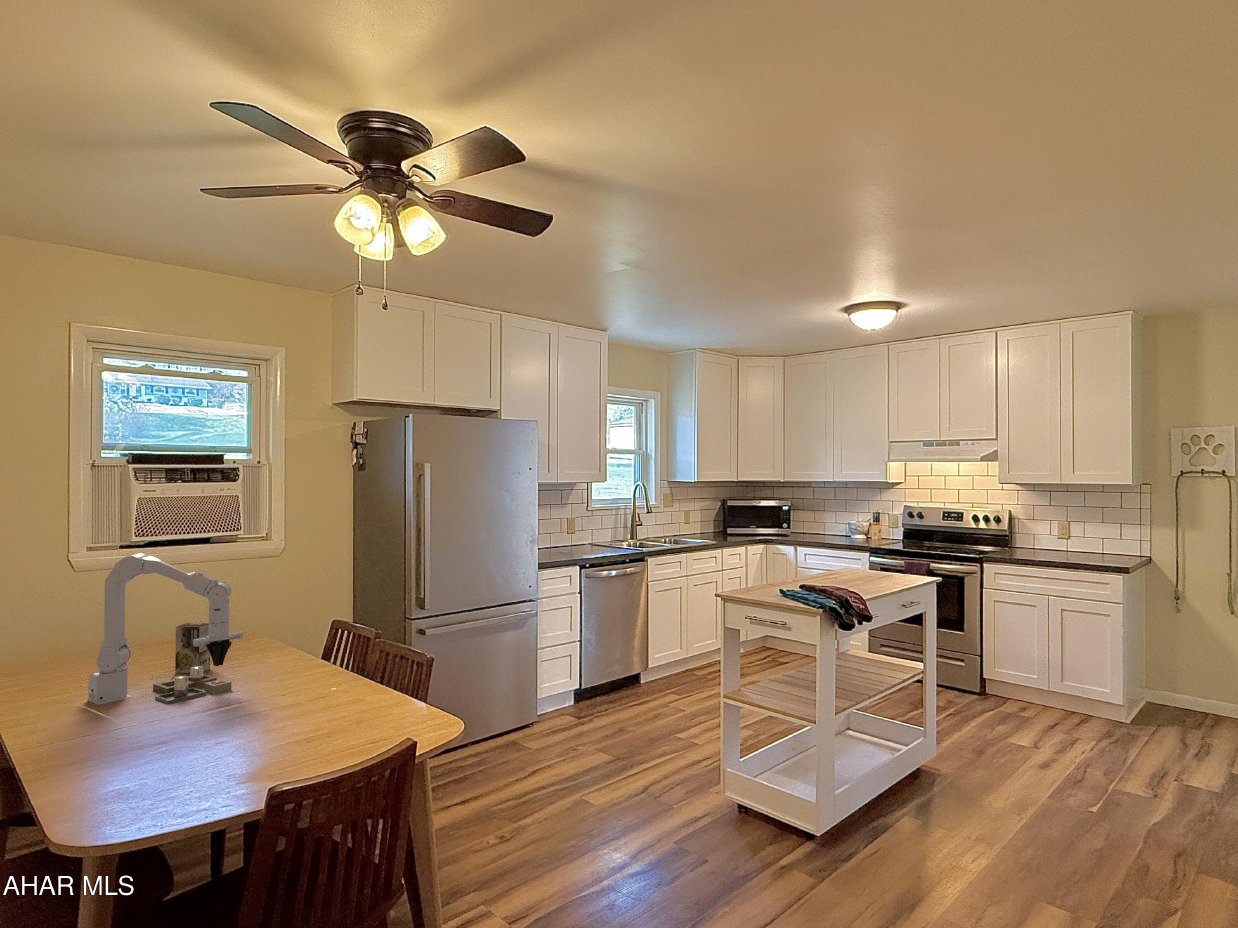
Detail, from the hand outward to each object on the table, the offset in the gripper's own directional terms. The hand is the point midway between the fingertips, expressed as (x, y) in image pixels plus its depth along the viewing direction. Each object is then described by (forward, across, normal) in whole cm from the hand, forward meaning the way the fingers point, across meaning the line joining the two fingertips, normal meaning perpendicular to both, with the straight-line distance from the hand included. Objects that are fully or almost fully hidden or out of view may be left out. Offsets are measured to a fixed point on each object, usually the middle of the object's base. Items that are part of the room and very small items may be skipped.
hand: (218, 665), depth 229 cm
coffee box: (+9, +8, +32) cm, 34 cm away
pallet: (+8, -4, +12) cm, 15 cm away
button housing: (+8, 0, 0) cm, 8 cm away
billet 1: (+8, -10, +2) cm, 13 cm away
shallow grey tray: (+8, -10, +2) cm, 13 cm away
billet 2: (+8, 0, +12) cm, 15 cm away
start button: (+8, 0, 0) cm, 8 cm away
